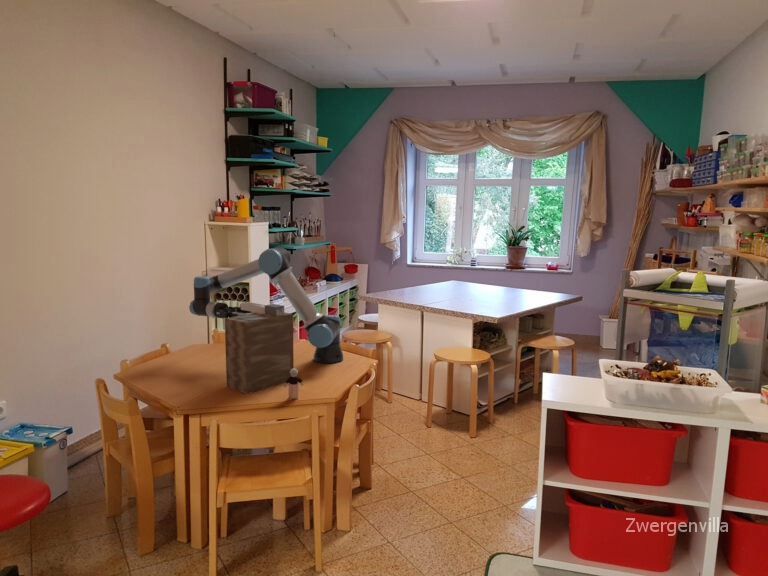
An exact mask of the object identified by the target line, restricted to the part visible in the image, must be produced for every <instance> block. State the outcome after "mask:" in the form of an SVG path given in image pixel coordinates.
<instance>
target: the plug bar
mask: <svg viewBox="0 0 768 576" xmlns="http://www.w3.org/2000/svg"><path fill="white" fill-rule="evenodd" d="M239 307H241V310H246V311H251V312H257V313H262V314H266V315H271V316H280V315H284V312H285V305H282V304H276V303H271V304H261V303H255V302H250V301H245V302H241V303H240V304H239Z"/></svg>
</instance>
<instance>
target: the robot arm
mask: <svg viewBox="0 0 768 576" xmlns="http://www.w3.org/2000/svg"><path fill="white" fill-rule="evenodd" d="M263 274H266V275H268V277H269V279H270V280H271V281H273V282H276V283H277V285H278V286H279V288H280V289H281V291H282V292H283V293H284V295H285V297H286V298H287V299H288V301H289V303H291V306H292V307H293V309H294V310H295V311H296V313H297V314H298V316H299V318H300V319H301V320H302V322H303V324H304V325H303V329H304V330H305V332H306V334H307V340H308V342H309V343H310V345H312V346H313V347H315V351H314V353H313V360H314V362H317V363H320V364H335V362H336V363H339V361H340V362H342V361H343V360H344V352H343V350H342V347H341V318H340V316H339V315H335V314H334V315H333V314H324V313H320V311H318V309H317V308H316V306H315V305H314V304H313V302H312V300H311V299H310V297H309V296H308V295H307V293H306V291H305V289H304V288H303V287H302V285H301V284H300V282H299V281H298V279H297V277H296V276H295V275H294V273H293V266H292V265H291V255H290V252H289V251H288V250H287V249H285V248H283V247H280V246H278V247H277V246H276V247H273V248H267V249H265V250H263V251H262V252H261V253H260V255H259V257H258V259H255V260H253V261H250V262H248V263H245V264H241V265H240V266H237V267H235V268H231V269H230V270H227V271H224V272H222V273H219V274H217V275H214V276H212V277H209V276H206V275H199V276H198V275H197V276H195V277H194V278H193V297H194V298H193V300H191V301H190V303H189V307H188V309H189V312H190V313H191V314H192V315H194V316H199V317H209V318H212V319H215V318H216V319H225V318H230V317H234V316H239V315H246V314H253V313H256V312H251V311H246V310H241V307H240V306H234V307H233V306H229V305H228V304H227V303H226V302H219V301H212V300H211V294H213V293H215V292H216V293H217V292H218V291H221V290H223V289H226V288H229V287H231V286H233V285H237V284H239V283H241V282H244V281H247V280H249V279H252V278H254V277H258V276H259V275H263Z"/></svg>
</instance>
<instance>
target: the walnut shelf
mask: <svg viewBox="0 0 768 576" xmlns="http://www.w3.org/2000/svg"><path fill="white" fill-rule="evenodd" d="M224 335H225V338H224V339H225V372H226V373H225V374H226V375H225V376H226V377H225V378H226V388H228V387H229V388H228V389H231V388H232V389H233V390H235V391H238V390H239V391H238V392H241V391H242V392H241V393H244V392H245V394H247V395H248V393H249V394H251V392H252V393H254V392H255V393H256V392H257V391H260V390H264V389H266V388H270V386H271V387H273V385H274V386H276V385H279V384H282V383H283V384H284V383H285V382H286V381H287V379H288V378H289V377H292V376H291V374H290V370H291V369H293V368H295V367H294V366H295V365H294V359H295V358H294V313H290V312H285V311H284V315H280V316H271V315H266V314H262V313H257V312H256V313H253V314H251V313H246V314H245V315H239V316H234V317H230V318H229V317H228V318H224ZM263 388H264V389H263Z"/></svg>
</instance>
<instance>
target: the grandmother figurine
mask: <svg viewBox="0 0 768 576" xmlns="http://www.w3.org/2000/svg"><path fill="white" fill-rule="evenodd" d="M290 374H291V376H292V377H289V378H288V379H287V381H286V382H284V387H285V388H286V387H287V386H288V397H287V398H286V399H287V401H288V400H289V401H291V400H299V384H300V385H301V386H304V382H303V379H302V378H300V377H299V376H298V374H299V371H298V369H296V368H295V367H294V368H293V369H291V370H290ZM288 384H289V385H288Z"/></svg>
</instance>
